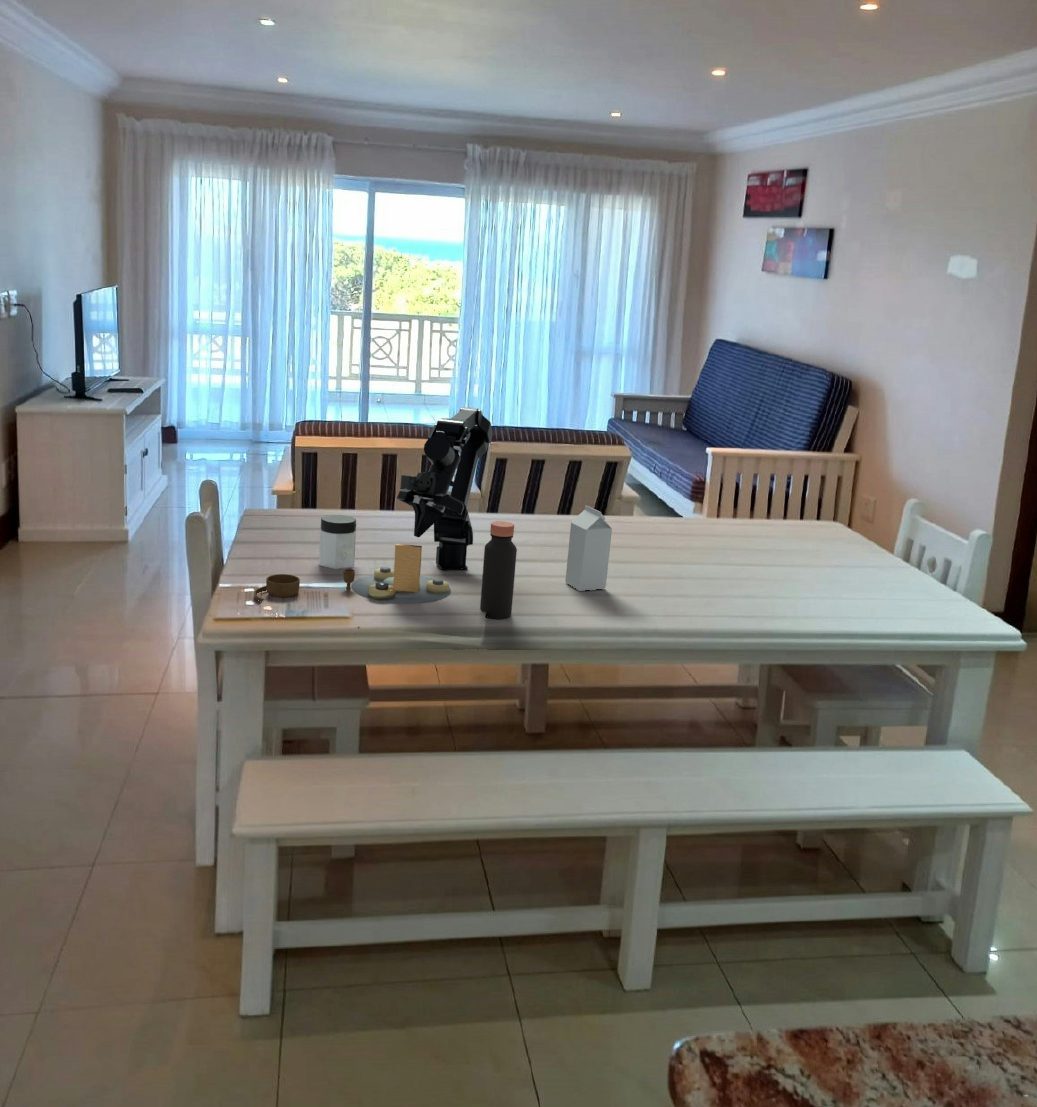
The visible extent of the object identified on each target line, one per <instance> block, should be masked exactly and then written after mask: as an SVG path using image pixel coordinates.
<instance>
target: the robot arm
mask: <svg viewBox="0 0 1037 1107" xmlns="http://www.w3.org/2000/svg"><path fill="white" fill-rule="evenodd" d="M492 440H493V429H492V422H491V421H490V420H489V419H488V418H487V417H485V416H484V415H483V412H482V410H481V409H479V408H477V407H469V406H467V407H466V406H463V407H460V408H459V411H458V412H457V413H456V414H454V415H453V416H452V417H451V418H450V417H449V418H447V417H446V418H444V417H443V418H438V420H437V421H436V422H435V423H434V425H433V427H432V428H431V430H430V434H429V436H428V438H427V440H426V442H424V445H423V452H424V453H423V454H425V456H426V458H427V459H428V460H429V462H430V463H431V464H430V466H429V468H428V471H427V470H426V471H422V472H417V475H406V474H405V475H404V474H401V475H400V488H399V489H400V490H399V491H398V492H399V493H398V494H397V497H396V499H397V500H399V501H400V502H402V503H404V504H407V505H408V506H410V507H412V509H413V511H414V530H413V536H414V537H416V538H421V537H422V536H423V534H425V533H426V532H427V531H428V530H429V529H430V528H431V527H432V526H433V539H434V540H433V542H434V543H438V546H436V552H435V553H436V554H435V563H436V565H437V566H438V567H439V568H440V569H441V570H442V571H444V570H445V571H446V570H447V571H448V570H449V571H450V570H452V571H453V570H457V571H458V570H469V569H468V568H469V567H468V566H467V564H466V563H467V554H468V552H467V550H468V546H473V544H474V531H473V527H472V526H473V525H472V523H471V519H470V518H471V517H470V515H469V511H468V508H467V507H468V503H469V498H470V495H471V491H472V486H473V482H474V479H475V473H476V469H477V466H478V461H479V459H480V458H482V456H484V455H485V454H486V453H487V451H488V449H489V445H490V444H491V443H492ZM454 447H458V448H459V449H457V448H454ZM453 479H454V480H453ZM450 487H451V491H450V494H448V492H449V490H450Z"/></svg>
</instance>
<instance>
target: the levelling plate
mask: <svg viewBox="0 0 1037 1107" xmlns="http://www.w3.org/2000/svg"><path fill="white" fill-rule="evenodd" d="M393 580H394V568H390V567H387V566H383V567H380V568H376V569H374V573H373V574H372V575H367V576H363V577H361V578H360V577H359V578H358V579H356V580H354V581H353V582H352V583H351V585H350V587H351V589H352V591H353V592H354V593H355V594H356V595H359V596H360V597H362V598H366V599H369V600H372V601H375V602H382V603H388V604H389V603H390V604H398V605H401V604H403V605H416V604H417V605H419V604H428V603H429V604H430V603H435V602H437V601H442V600H443V599H446V598H448V597H449V596H450V595H451V593H452V590H451V587H450V583H449V582H448V581H445V580H443V579H440V578H439V579H438V578H437V579H436V578H432V577H428V576H425V575H424V576H423V575H420V586H419V592H409V591H399V590H396V596H395V597H394V598H392V599H385V600H381V599H374V598H371V597H369V596H368V595H367V594H368V586H370V585H373V584H376V582H387V583H388V584H389V585H391V586H393Z"/></svg>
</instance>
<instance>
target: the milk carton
mask: <svg viewBox="0 0 1037 1107" xmlns="http://www.w3.org/2000/svg"><path fill="white" fill-rule="evenodd" d="M569 530H570V531H569V538H568V539H569V541H568V550H567V551H568V552H567V560H566V561H567V562H566V570H565V571H566V572H565V581H564V582H566V583H565V584H567V585H568V584H570V585H571V586H570V585H569V586H570V587H572V586H573V587H572V588H573V589H575V588H576V589H575V590H577V591H579V592H586V591H585V590H590V591H597V590H596V589H602V590H605V589H604V588H606V587H607V579H608V571H609V560H610V551H611V543H612V533H613V528H612V527H611V526H610V525H609V524H608V522H606V517H605V516H604V515H603V514H602V512H601V511H599V510H597V509H595V508H592V507H591V506H589V505H586V504H585V506H584V510H583V511H581V513H579V514H578V515H577V516H576V517H575V518H573V519H572V521H571V522H570V528H569Z"/></svg>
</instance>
